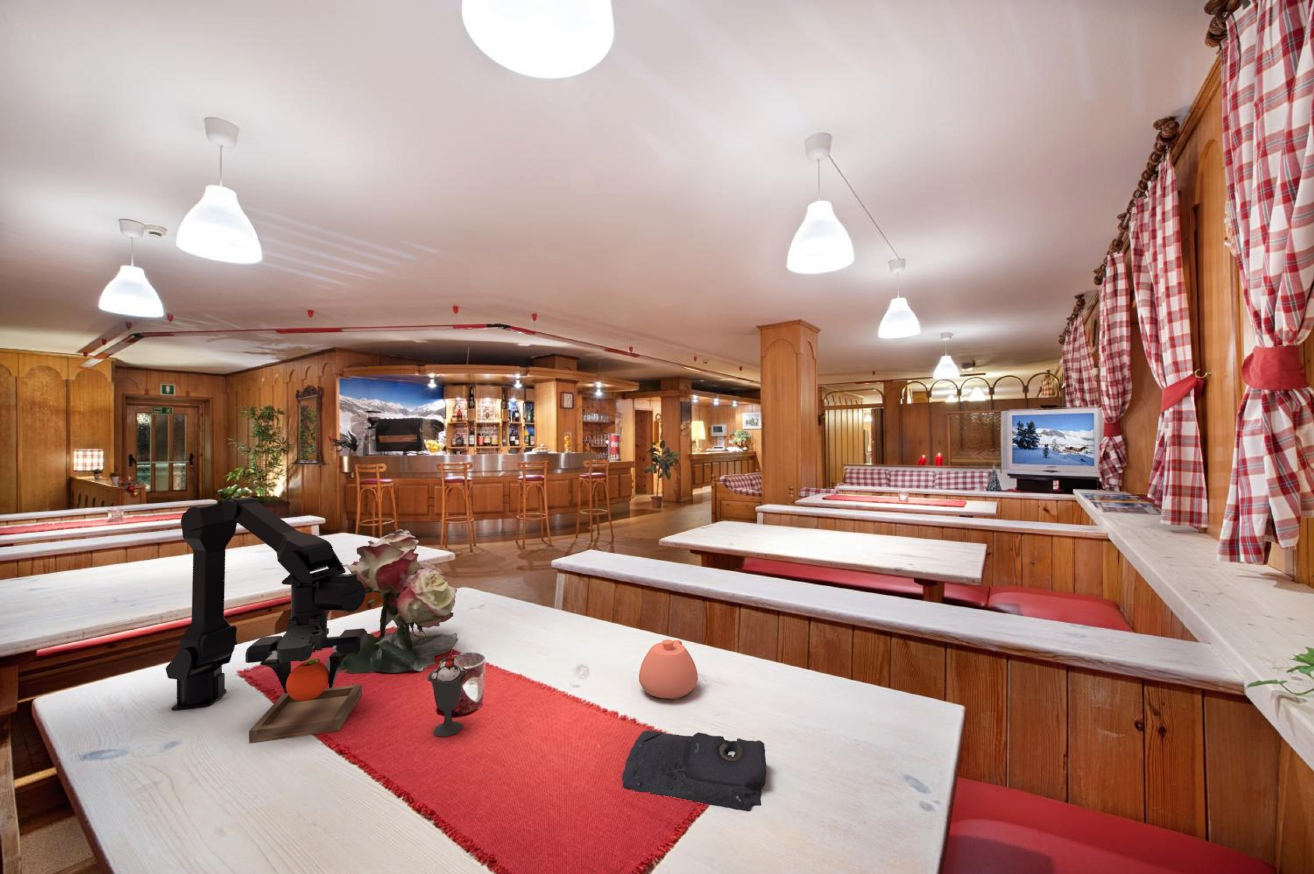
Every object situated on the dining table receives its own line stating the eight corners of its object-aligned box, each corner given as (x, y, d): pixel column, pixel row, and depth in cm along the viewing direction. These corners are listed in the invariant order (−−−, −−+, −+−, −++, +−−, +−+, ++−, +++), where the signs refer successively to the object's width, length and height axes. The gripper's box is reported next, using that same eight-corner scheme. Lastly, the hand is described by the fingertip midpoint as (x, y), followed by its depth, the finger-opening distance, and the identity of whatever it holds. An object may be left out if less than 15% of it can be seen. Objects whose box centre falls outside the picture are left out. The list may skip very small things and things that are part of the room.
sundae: (454, 741, 90) (453, 655, 91) (420, 737, 92) (419, 652, 92) (475, 721, 97) (474, 640, 97) (442, 717, 98) (442, 638, 98)
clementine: (302, 688, 103) (302, 652, 103) (339, 686, 104) (339, 650, 104) (277, 709, 95) (277, 670, 95) (318, 707, 96) (317, 668, 96)
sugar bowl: (629, 698, 105) (628, 647, 105) (655, 669, 118) (655, 624, 118) (686, 709, 101) (686, 656, 101) (707, 678, 114) (707, 631, 114)
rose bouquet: (441, 674, 117) (440, 540, 117) (311, 674, 117) (311, 541, 117) (481, 632, 143) (480, 522, 143) (374, 632, 143) (374, 522, 143)
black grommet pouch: (642, 735, 93) (642, 709, 93) (769, 753, 87) (769, 725, 87) (614, 792, 78) (613, 760, 78) (764, 818, 72) (764, 783, 72)
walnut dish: (249, 742, 91) (249, 730, 91) (283, 703, 104) (283, 693, 104) (339, 730, 94) (339, 718, 94) (361, 694, 108) (361, 684, 108)
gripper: (229, 627, 89) (229, 718, 89) (351, 617, 94) (351, 703, 94) (260, 606, 100) (260, 688, 100) (368, 598, 105) (368, 676, 105)
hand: (309, 689), depth 99 cm, fingers closed on clementine, 7 cm apart
